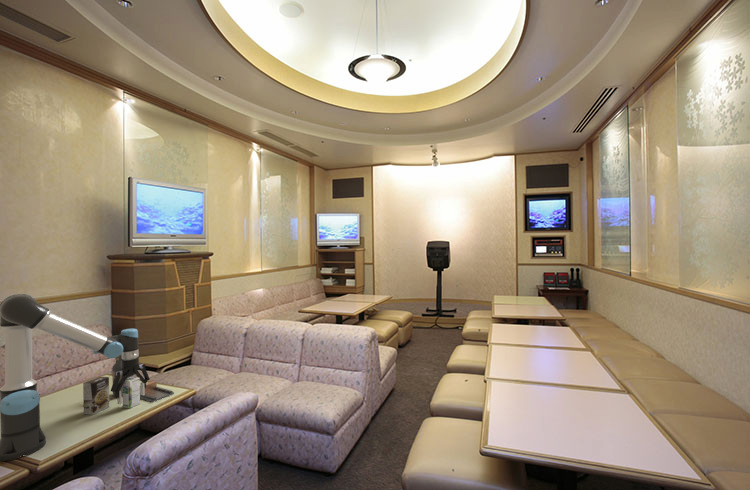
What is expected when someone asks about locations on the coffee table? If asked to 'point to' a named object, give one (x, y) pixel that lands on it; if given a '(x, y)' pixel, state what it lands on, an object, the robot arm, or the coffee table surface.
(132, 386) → the syrup box
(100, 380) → the coffee box
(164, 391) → the rail board
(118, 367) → the liquor
